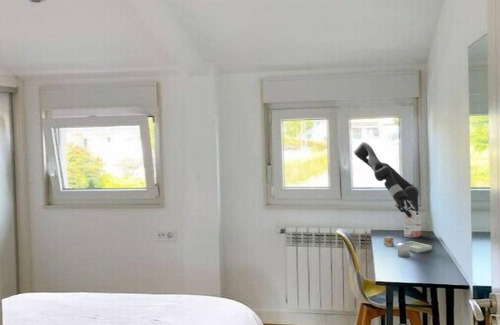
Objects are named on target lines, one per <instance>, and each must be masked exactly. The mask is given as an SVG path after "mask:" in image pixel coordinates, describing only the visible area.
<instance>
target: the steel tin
mask: <svg viewBox="0 0 500 325" xmlns="http://www.w3.org/2000/svg"><path fill="white" fill-rule="evenodd" d="M406 242H407V241H405V242H397V244H398V248H397V256H398V257H399V258H410V257H411V251H410V243H406Z"/></svg>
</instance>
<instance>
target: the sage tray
mask: <svg viewBox="0 0 500 325" xmlns="http://www.w3.org/2000/svg"><path fill="white" fill-rule="evenodd" d="M405 242H406V243H410V252H413V253H416V254H420V253H424V252H428V251H429V252H430V251H432V249H433V246H432V245H431V244H426V243H421V242H417V241H413V240H410V241H405ZM396 247H397V249H398V243H397V245H396Z"/></svg>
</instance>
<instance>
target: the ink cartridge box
mask: <svg viewBox="0 0 500 325" xmlns="http://www.w3.org/2000/svg"><path fill="white" fill-rule="evenodd" d="M407 211H409V212H412V213H411V215H412V216H411V217H408V216H407V215H406V213H404V212H403V235H404V234H407V235H413V236H419V235H420V236H421V235H422V215H420V214H419V215H416V211H412V210H407ZM420 236H419V237H420Z"/></svg>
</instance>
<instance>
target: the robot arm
mask: <svg viewBox="0 0 500 325" xmlns="http://www.w3.org/2000/svg"><path fill="white" fill-rule="evenodd" d="M353 154H354V155H355V156H356V158H358V159H359V160H361V161H362V162H363V163H365V165H367V166H368V167H369V168H370V169H372V170H373V173H374V177H375V179H376V181H378V182H382V181H385V182H384V183H383V184H384V187H385V188H386V190H387V191H388V192H389V194H390V196H391V197H392V199H393V200H394V202H395V205H394V206H395V207H396V208H397V209H398V210H399V211H400V212H401V213H403V214H404V213H406V215H407V216H408V217H411V216H412V215H411V213H412V212H409V211H407V210H412V211H416V215H420V214H419V210H420V209H419V195H420V191H419V188H417V187H416V186H415V185H413V184H412V183H410V182H408V181H407V180H406V179H405V178H404V177H403V176H401V174H399V173H398V171H396V170H395V169H394V168H393V167H392V166H391V165H389V163H386V162H381V160H380V159H379V158H378V157H377V154H376V152H375V151H374V149H373V148H372V146H371V145H370V144H369V143H368V142H365V141H363V142H361V143H360V144H359V145H358V146H357V147H356V148H355V149H354V151H353ZM403 236H404V237H406V238H410V239H411V238H415V239H416V238H419V237H420V236H421V235H419V236H413V235H407V234H404V233H403Z"/></svg>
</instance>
